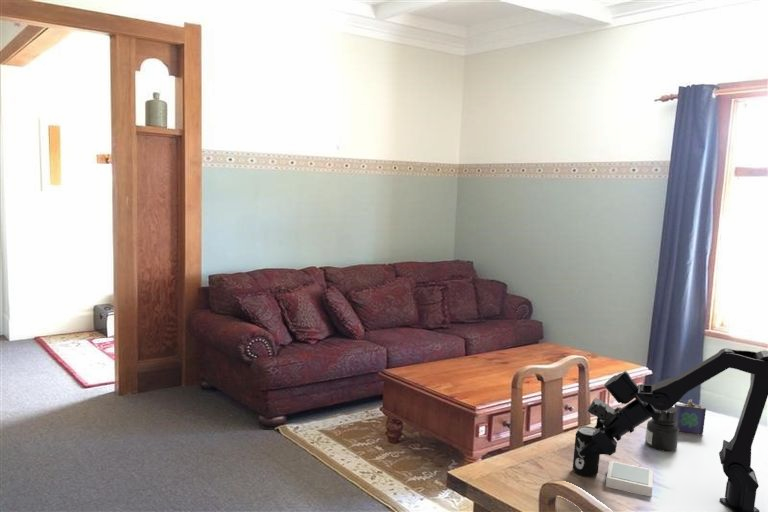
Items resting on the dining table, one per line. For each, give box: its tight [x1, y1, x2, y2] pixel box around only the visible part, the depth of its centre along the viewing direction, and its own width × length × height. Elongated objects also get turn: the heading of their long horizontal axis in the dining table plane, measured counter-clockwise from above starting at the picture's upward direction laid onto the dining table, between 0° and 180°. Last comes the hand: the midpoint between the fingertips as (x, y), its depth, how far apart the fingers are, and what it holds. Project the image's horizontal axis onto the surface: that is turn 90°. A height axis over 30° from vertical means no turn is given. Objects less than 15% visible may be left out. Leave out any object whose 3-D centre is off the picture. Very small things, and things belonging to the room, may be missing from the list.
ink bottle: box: [644, 406, 679, 453], centre depth 192 cm, size 10×9×12 cm
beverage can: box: [572, 425, 601, 478], centre depth 172 cm, size 7×7×12 cm
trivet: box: [605, 460, 654, 498], centre depth 168 cm, size 11×11×3 cm
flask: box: [673, 399, 707, 436], centre depth 204 cm, size 9×3×11 cm, turn 76°
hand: (582, 447), depth 172 cm, fingers open, 9 cm apart
